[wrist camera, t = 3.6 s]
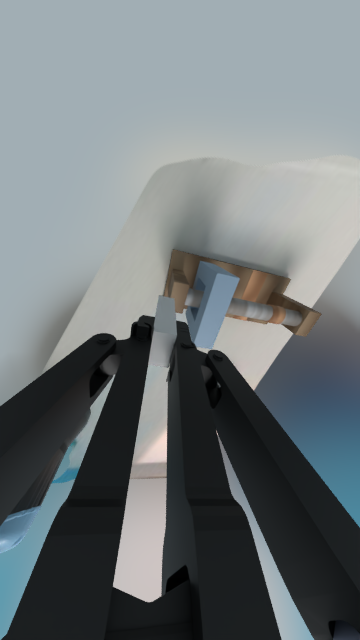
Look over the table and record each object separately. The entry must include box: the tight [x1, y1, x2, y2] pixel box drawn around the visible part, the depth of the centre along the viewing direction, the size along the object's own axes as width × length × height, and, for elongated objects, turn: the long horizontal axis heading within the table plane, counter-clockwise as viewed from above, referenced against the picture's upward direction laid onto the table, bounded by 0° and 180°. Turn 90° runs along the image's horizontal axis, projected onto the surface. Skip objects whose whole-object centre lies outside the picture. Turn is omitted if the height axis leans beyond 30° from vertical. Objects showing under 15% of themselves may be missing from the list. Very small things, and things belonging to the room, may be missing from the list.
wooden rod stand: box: [164, 249, 321, 336], centre depth 27 cm, size 23×10×10 cm, turn 77°
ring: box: [186, 261, 240, 349], centre depth 23 cm, size 2×9×10 cm, turn 167°
